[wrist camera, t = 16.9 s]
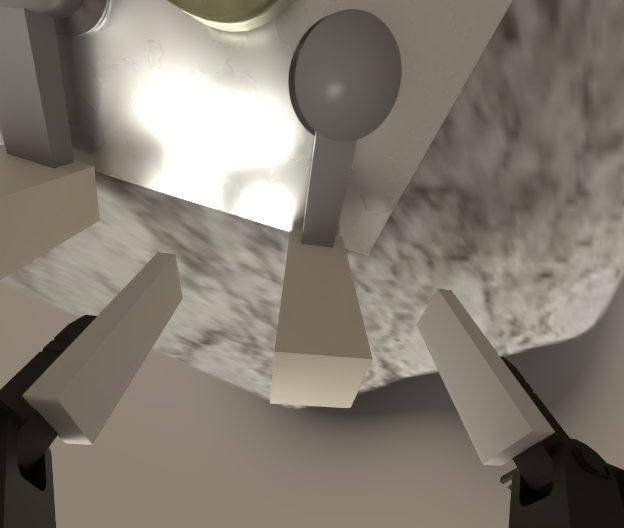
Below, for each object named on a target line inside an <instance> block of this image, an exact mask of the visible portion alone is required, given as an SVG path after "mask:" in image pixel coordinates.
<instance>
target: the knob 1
mask: <svg viewBox="0 0 624 528" xmlns="http://www.w3.org/2000/svg"><path fill="white" fill-rule="evenodd" d="M82 1H83V0H0V130H1V133H2V137H3V141H4V144H5V145H0V280H1V279H3V278H4V277H6V276H8V275H9V274H11V273H13V272H14V271H16V270H18V269H19V268H21V267H23V266H24V265H26V264H28V263H29V262H31V261H33V260H34V259H36V258H38V257H39V256H41V255H43V254H44V253H46V252H48V251H49V250H51V249H53V248H54V247H56V246H58V245H59V244H61V243H63V242H64V241H66V240H68V239H69V238H71V237H73V236H74V235H76V234H78V233H79V232H81V231H83V230H84V229H86V228H88V227H89V226H91V225H93V224H94V223H96V222H98V221H99V220H100V219H99V210H98V200H97V190H96V180H95V170H94V166H91V165H88V164H85V163H82V162H79V161H76V160H74V158H73V151H72V144H71V137H70V130H69V123H68V116H67V109H66V102H65V95H64V88H63V81H62V74H61V67H60V60H59V53H58V46H57V39H56V32H55V25H54V20H57V19H63V18H66V17H69V16H70V15H72V14H74V12H75V11H76V10H77V9H78V8H79V7H80V5H81V3H82Z"/></svg>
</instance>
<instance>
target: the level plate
mask: <svg viewBox="0 0 624 528" xmlns="http://www.w3.org/2000/svg"><path fill="white" fill-rule="evenodd" d="M511 2H512V0H83V1H82V3H81V5H80V7H79V8H78V9H77V10H76V11H75V12H74V14H72V15H70V16H69V17H66V18H63V19H57V20H54V25H55V32H56V39H57V46H58V53H59V60H60V67H61V74H62V81H63V88H64V95H65V102H66V109H67V116H68V123H69V130H70V137H71V144H72V151H73V158H74V160H76V161H79V162H82V163H85V164H88V165H91V166H94V170H95V172H98V173H101V174H105V175H108V176H111V177H114V178H117V179H121V180H124V181H127V182H130V183H134V184H137V185H140V186H143V187H147V188H150V189H153V190H156V191H159V192H163V193H166V194H169V195H172V196H176V197H179V198H182V199H185V200H188V201H192V202H195V203H198V204H201V205H205V206H208V207H211V208H214V209H217V210H221V211H224V212H227V213H230V214H234V215H237V216H240V217H243V218H247V219H250V220H253V221H256V222H259V223H263V224H266V225H269V226H272V227H276V228H279V229H282V230H285V231H288V232H290V230H294V231H302V229H303V222H304V214H305V207H306V199H307V192H308V184H309V177H310V169H311V162H312V154H313V147H314V139H315V132H316V131H315V130H314V129H313V128H312V127H311V126H310V125H309V123H308V122H307V121H306V119H305V118H304V116H303V114H302V112H301V110H300V107H299V104H298V101H297V96H296V91H295V71H296V65H297V60H298V56H299V54H300V51H301V48H302V46H303V44H304V42H305V40H306V39H307V37H308V36H309V34H310V32H311V31H312V30H313V29H314V28H315V27H316V25H318V24H319V23H320V22H321V21H322V20H323V19H325V18H326V17H328V16H329V15H331V14H334V13H336V12H338V11H342V10H347V9H357V10H363V11H366V12H369V13H371V14H373V15H375V16H377V17H378V18H379V19H380V20H382V21H383V22H384V23H385V24H386V25H387V27H388V28H389V29H390V31H391V32H392V34H393V36H394V38H395V40H396V42H397V45H398V48H399V52H400V56H401V65H402V76H401V84H400V89H399V93H398V96H397V99H396V102H395V104H394V106H393V108H392V110H391V112H390V113H389V115H388V116H387V118H386V119H385V120H384V122H383V123H382V124H381V125H380V126H379V127H378V128H377V129H376V130H374V131H373V132H372V133H370V134H369V135H367V136H365V137H363V138H361V139H358V140H357V142H356V146H355V151H354V155H353V160H352V165H351V169H350V174H349V178H348V183H347V187H346V192H345V196H344V201H343V205H342V210H341V215H340V219H339V224H338V228H337V233H336V236H342V237H343V241H344V245H345V249H347V250H350V251H353V252H356V253H359V254H363V255H366V256H368V254H369V252H370V251H371V249H372V247H373V245H374V244H375V242H376V240H377V238H378V237H379V235H380V233H381V231H382V229H383V228H384V226H385V224H386V222H387V221H388V219H389V217H390V215H391V214H392V212H393V210H394V208H395V207H396V205H397V203H398V201H399V200H400V198H401V196H402V194H403V192H404V191H405V189H406V187H407V185H408V184H409V182H410V180H411V178H412V177H413V175H414V173H415V171H416V170H417V168H418V166H419V164H420V163H421V161H422V159H423V157H424V155H425V154H426V152H427V150H428V148H429V147H430V145H431V143H432V141H433V140H434V138H435V136H436V134H437V133H438V131H439V129H440V127H441V126H442V124H443V122H444V120H445V118H446V117H447V115H448V113H449V111H450V110H451V108H452V106H453V104H454V103H455V101H456V99H457V97H458V96H459V94H460V92H461V90H462V89H463V87H464V85H465V83H466V81H467V80H468V78H469V76H470V74H471V73H472V71H473V69H474V67H475V66H476V64H477V62H478V60H479V59H480V57H481V55H482V53H483V52H484V50H485V48H486V46H487V44H488V43H489V41H490V39H491V37H492V36H493V34H494V32H495V30H496V29H497V27H498V25H499V23H500V22H501V20H502V18H503V16H504V15H505V13H506V11H507V9H508V7H509V6H510V4H511ZM0 142H1V143H4V141H3V137H2V133H1V130H0Z"/></svg>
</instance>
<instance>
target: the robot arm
mask: <svg viewBox="0 0 624 528" xmlns="http://www.w3.org/2000/svg"><path fill="white" fill-rule="evenodd" d="M181 300H182V292H181V286H180V280H179V274H178V268H177V262H176V255H175V254H167V253H159V252H158V253H157V254H156V255H155V256H154V257H153V258H152V259H151V260H150V261H149V262H148V263H147V265H146V266H145V267H144V268H143V269H142V270H141V271H140V272H139V273H138V274H137V275H136V276H135V277H134V278H133V279H132V280H131V281H130V282H129V283H128V285H127V286H126V287H125V288H124V289H123V290H122V291H121V292H120V293H119V294H118V295H117V296H116V297H115V298H114V299H113V300H112V301H111V302H110V304H109V305H108V306H107V307H106V308H105V309H104V310H103V311H102V312H101V313H100V314H99V315H98V316H92V315H84V316H82V317H81V318H79V319H77V320H76V321H74V322H72V323H70V324H69V325H67V326H66V327H65V328H64V329H63V330H62V331H61V332H60V333H59V334H58V335H57V336H56V337H55V338H54V340H53V341H51V342H50V343H49V344H48V345H46V347H44V348H43V351H42V352H39V353H38V354H37V355H36V356H35V357H34V358H33V359H32V360H31V361H30V362H29V363H28V364H27V365H26V366H25V367H23V369H21V371H19V372H18V373H17V374H16V375H15V376H14V377H13V378H12V379H11V380H10V381H9V382H8V383H7V384H6V385H5V386H4V387H3V388H2V389H1V390H0V528H56V521H55V505H54V489H53V474H52V473H53V472H52V456H51V451H50V448H49V446H50V445H51V443H52V442H53V441H54V439H55V438H56V437H57V435H58V436H59V437H60V438H61V439H62V440H63V441H64V442H65V443H71V444H91V445H92V444H93V443H94V441H95V439H96V438H97V436H98V435H99V433H100V431H101V430H102V428H103V426H104V425H105V423H106V422H107V420H108V418H109V417H110V415H111V413H112V412H113V410H114V408H115V407H116V405H117V404H118V402H119V401H120V399H121V397H122V396H123V394H124V392H125V391H126V389H127V387H128V386H129V384H130V383H131V381H132V379H133V378H134V376H135V374H136V373H137V371H138V370H139V368H140V366H141V365H142V363H143V362H144V360H145V358H146V357H147V355H148V353H149V352H150V350H151V349H152V347H153V345H154V344H155V342H156V340H157V339H158V337H159V336H160V334H161V332H162V331H163V329H164V327H165V326H166V324H167V323H168V321H169V319H170V318H171V316H172V314H173V313H174V311H175V310H176V308H177V306H178V305H179V303H180V301H181ZM417 326H418V329H419V331H420V333H421V335H422V337H423V339H424V341H425V343H426V345H427V348H428V350H429V352H430V354H431V356H432V358H433V360H434V362H435V365H436V367H437V369H438V371H439V373H440V375H441V377H442V379H443V381H444V383H445V386H446V388H447V390H448V392H449V394H450V396H451V398H452V400H453V402H454V405H455V407H456V409H457V411H458V413H459V415H460V417H461V420H462V422H463V424H464V426H465V428H466V430H467V432H468V434H469V437H470V439H471V441H472V443H473V445H474V447H475V449H476V451H477V453H478V455H479V458H480V460H481V462H482V464H484V465H503V464H505V463H506V462H508V461H510V460H511V459H513V460H514V462H515V464H516V466H517V468H515V469H514V470H512V471H510V472H509V473H507V474H505V475H503V476H502V477H501V479H500V482H501V483H502V484H504V483H506V482H508V481H509V480H511V479H512V484H511V485H510V486H509V487H508V488H509V489H510V490H511V501H510V516H509V528H624V470H622V469H620V468H617V467H615V466H613V465H610V464H608V463H606V462H605V461H604V460H603V459H602V458H601V457H600V456H599V455H598V454H597V453H596V452H595V451H594V450H593V449H591V448H590V447H589V446H587V445H586V444H584V443H582V442H580V441H578V440H576V439H571V438H569V436H568V435H567V434H566V433H565V432H564V431H563V429H562V428H561V426H560V425H559V424H558V422H557V421H556V420H555V418H554V417H553V416H552V414H551V413H550V412H549V411H548V409H547V408H546V407H545V406H544V404H543V403H542V401H541V400H540V399H539V398H538V396H537V395H536V394H535V393H533V390H532V388H531V387H530V386H529V384H528V383H526V382H525V379H524V378H523V376H522V375H521V374H520V373H519V371H518V370H517V368H516V367H514V366H513V365H512V364H511V363H510V362H509V361H508V360H507V359H506V358H504V357H501V356H499V355H498V353H497V352H496V351H495V349H494V348H493V347H492V345H491V344H490V342H489V341H488V340H487V338H486V337H485V336H484V334H483V333H482V331H481V330H480V329H479V327H478V326H477V325H476V323H475V322H474V321H473V319H472V318H471V316H470V315H469V314H468V312H467V311H466V310H465V308H464V307H463V306H462V304H461V303H460V301H459V300H458V299H457V297H456V296H455V295H454V293H453V292H452V291H451V290H444V289H437V291H436V293H435V294H434V296H433V298H432V299H431V301H430V303H429V304H428V306H427V308H426V310H425V311H424V313H423V315H422V316H421V318H420V320H419V321H418V323H417Z"/></svg>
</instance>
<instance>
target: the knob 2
mask: <svg viewBox="0 0 624 528" xmlns="http://www.w3.org/2000/svg"><path fill="white" fill-rule="evenodd" d="M401 76H402V65H401V56H400V52H399V48H398V45H397V42H396V40H395V38H394V36H393V34H392V32H391V31H390V29H389V28H388V27H387V25H386V24H385V23H384V22H383V21H382V20H380V19H379V18H378V17H377V16H375V15H373V14H371V13H369V12H366V11H363V10H357V9H347V10H342V11H338V12H336V13H334V14H331V15H329V16H328V17H326V18H325V19H323V20H322V21H321V22H320V23H319V24H318V25H316V27H315V28H314V29H313V30H312V31H311V32H310V34H309V36H308V37H307V39H306V40H305V42H304V44H303V46H302V48H301V51H300V54H299V56H298V60H297V65H296V71H295V91H296V96H297V101H298V104H299V107H300V110H301V112H302V114H303V116H304V118H305V119H306V121H307V122H308V123H309V125H310V126H311V127H312V128H313V129H314V130H315V131H316V132H315V139H314V147H313V154H312V162H311V169H310V177H309V184H308V192H307V199H306V207H305V214H304V222H303V229H302V231H294V230H290V237H289V245H288V253H287V260H286V268H285V276H284V284H283V291H282V299H281V307H280V314H279V322H278V330H277V337H276V345H275V353H274V364H273V375H272V386H271V396H270V403H272V404H289V405H306V406H325V407H340V408H350V407H351V405H352V403H353V401H354V399H355V397H356V395H357V392H358V390H359V388H360V386H361V383H362V381H363V379H364V377H365V375H366V372H367V370H368V368H369V366H370V364H371V361H372V356H371V351H370V347H369V343H368V339H367V335H366V331H365V327H364V323H363V319H362V315H361V311H360V306H359V302H358V298H357V294H356V290H355V286H354V282H353V278H352V274H351V270H350V266H349V261H348V257H347V253H346V249H345V245H344V241H343V237H342V236H336V233H337V228H338V224H339V219H340V215H341V210H342V205H343V201H344V196H345V192H346V187H347V183H348V178H349V174H350V169H351V165H352V160H353V155H354V151H355V146H356V142H357V140H358V139H361V138H363V137H365V136H367V135H369V134H370V133H372V132H373V131H374V130H376V129H377V128H378V127H379V126H380V125H381V124H382V123H383V122H384V120H385V119H386V118H387V116H388V115H389V113H390V112H391V110H392V108H393V106H394V104H395V102H396V99H397V96H398V93H399V89H400V84H401Z"/></svg>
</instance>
